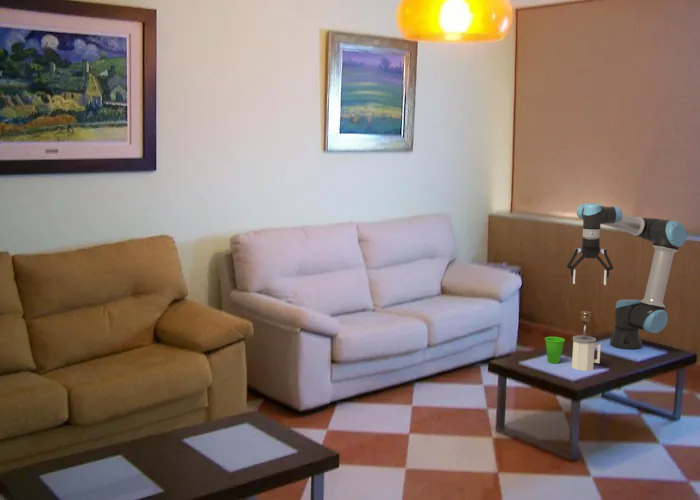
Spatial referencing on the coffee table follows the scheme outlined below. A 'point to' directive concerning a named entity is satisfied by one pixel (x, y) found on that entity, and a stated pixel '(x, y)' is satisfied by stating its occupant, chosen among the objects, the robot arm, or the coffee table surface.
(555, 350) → the cup
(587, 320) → the plunger
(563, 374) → the coffee table surface
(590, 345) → the press
